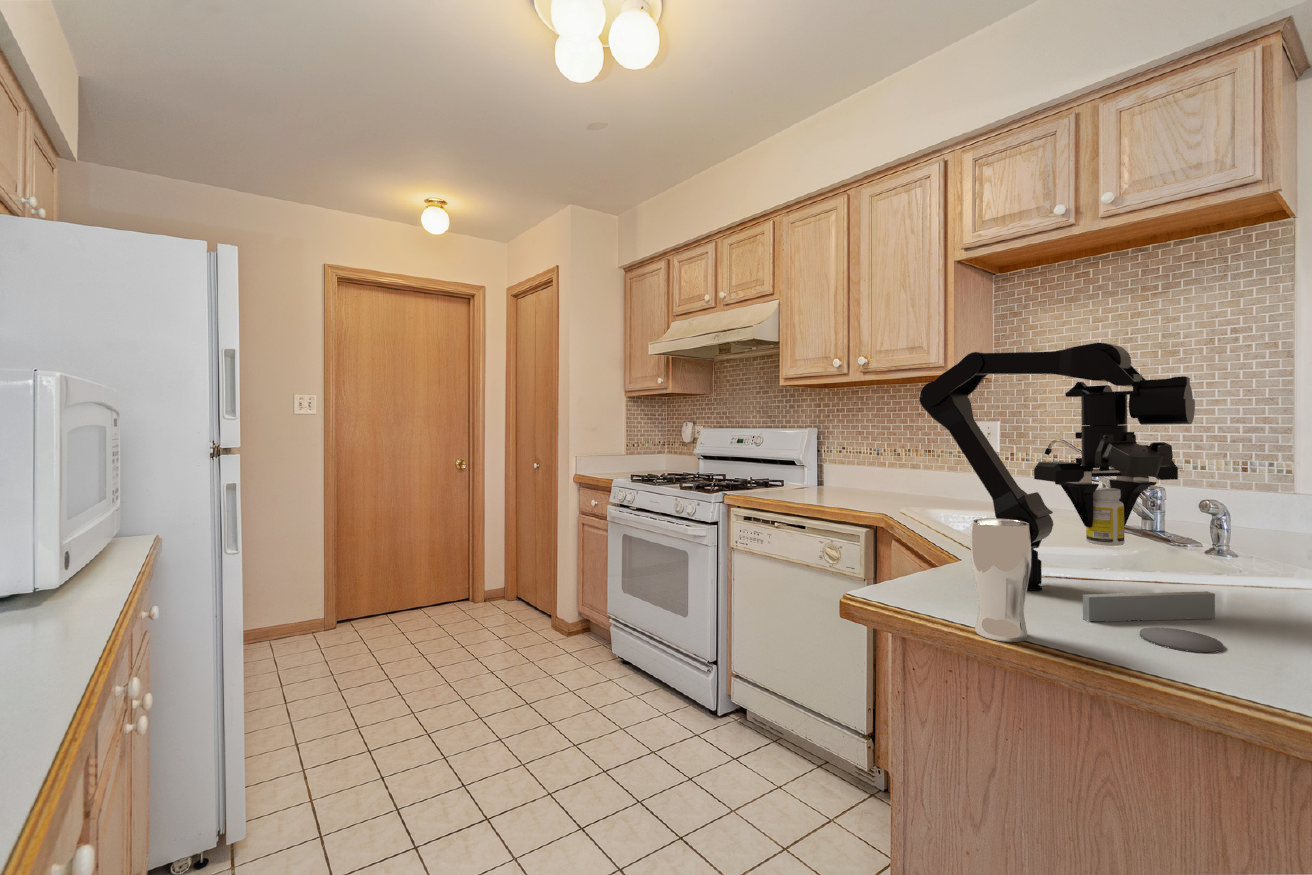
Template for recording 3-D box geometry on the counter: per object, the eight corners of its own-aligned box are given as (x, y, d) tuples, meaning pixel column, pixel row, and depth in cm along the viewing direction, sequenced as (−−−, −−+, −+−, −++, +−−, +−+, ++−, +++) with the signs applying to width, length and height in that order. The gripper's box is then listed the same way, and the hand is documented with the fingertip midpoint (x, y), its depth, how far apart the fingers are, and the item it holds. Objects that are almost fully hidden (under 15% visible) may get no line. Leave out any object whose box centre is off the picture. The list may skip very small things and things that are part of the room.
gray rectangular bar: (1089, 621, 85) (1089, 597, 85) (1082, 619, 86) (1082, 594, 86) (1214, 618, 86) (1214, 593, 86) (1206, 615, 87) (1206, 591, 87)
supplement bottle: (1111, 540, 96) (1111, 487, 96) (1132, 546, 91) (1131, 490, 91) (1079, 540, 97) (1079, 487, 96) (1097, 546, 92) (1097, 490, 92)
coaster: (1162, 650, 74) (1162, 647, 74) (1127, 628, 82) (1127, 625, 82) (1239, 654, 73) (1239, 651, 73) (1196, 631, 81) (1196, 628, 81)
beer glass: (959, 630, 83) (959, 520, 83) (995, 622, 86) (994, 516, 85) (1007, 647, 77) (1006, 528, 76) (1044, 638, 79) (1043, 523, 79)
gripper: (1082, 427, 85) (1083, 537, 86) (1212, 424, 86) (1212, 534, 86) (1031, 426, 97) (1032, 525, 97) (1146, 424, 97) (1147, 521, 97)
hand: (1104, 526), depth 94 cm, fingers closed on supplement bottle, 5 cm apart
